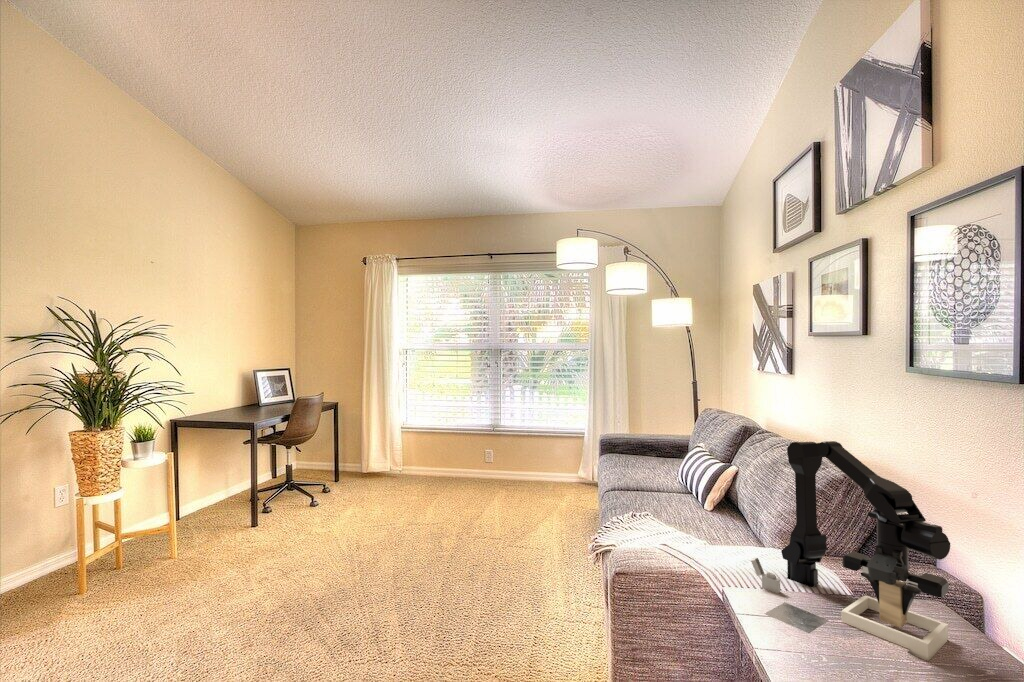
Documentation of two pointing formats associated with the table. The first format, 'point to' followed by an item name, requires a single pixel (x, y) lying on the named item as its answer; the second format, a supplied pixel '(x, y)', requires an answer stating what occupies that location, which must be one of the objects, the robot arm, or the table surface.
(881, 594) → the strut
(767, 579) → the lighter
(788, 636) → the table surface
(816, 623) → the base plate
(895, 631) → the rectangular frame
